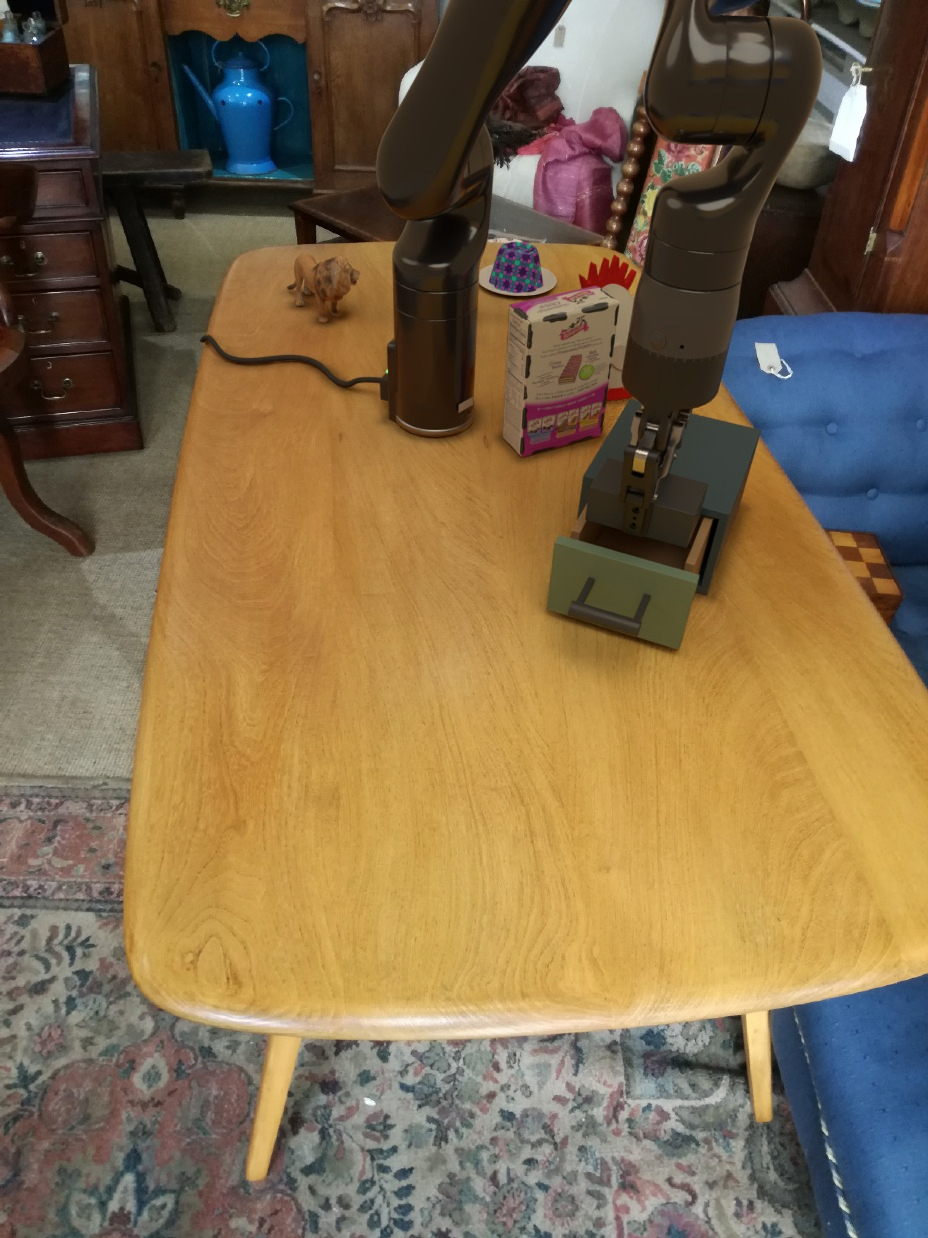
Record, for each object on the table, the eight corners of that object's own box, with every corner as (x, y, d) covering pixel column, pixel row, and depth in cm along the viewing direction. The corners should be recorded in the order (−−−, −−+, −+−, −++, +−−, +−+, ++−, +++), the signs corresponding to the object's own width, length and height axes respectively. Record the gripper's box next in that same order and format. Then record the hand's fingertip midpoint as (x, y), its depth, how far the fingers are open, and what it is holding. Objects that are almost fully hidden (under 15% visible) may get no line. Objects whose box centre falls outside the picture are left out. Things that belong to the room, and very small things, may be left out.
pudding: (568, 277, 142) (572, 242, 138) (537, 307, 134) (540, 271, 130) (496, 261, 145) (498, 226, 142) (462, 289, 137) (463, 253, 134)
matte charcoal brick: (584, 520, 81) (589, 486, 78) (601, 489, 84) (607, 457, 82) (686, 548, 78) (695, 515, 76) (700, 516, 82) (708, 483, 79)
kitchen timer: (520, 361, 122) (529, 246, 111) (605, 339, 127) (621, 227, 117) (583, 411, 113) (599, 291, 103) (671, 384, 118) (695, 268, 108)
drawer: (664, 687, 79) (682, 620, 73) (527, 643, 82) (534, 575, 77) (714, 555, 92) (732, 490, 86) (594, 522, 95) (604, 457, 90)
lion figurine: (367, 321, 129) (364, 256, 122) (337, 333, 126) (332, 267, 120) (301, 287, 136) (296, 224, 130) (271, 297, 133) (264, 233, 127)
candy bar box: (579, 416, 112) (597, 283, 101) (602, 437, 109) (623, 301, 98) (498, 437, 108) (507, 301, 97) (520, 459, 105) (531, 320, 94)
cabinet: (706, 595, 89) (729, 514, 82) (571, 556, 92) (583, 475, 86) (739, 507, 99) (761, 429, 93) (616, 475, 103) (629, 398, 96)
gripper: (708, 385, 63) (663, 575, 75) (749, 303, 73) (703, 483, 85) (603, 361, 65) (575, 550, 77) (656, 284, 75) (624, 462, 87)
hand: (642, 514), depth 81 cm, fingers closed on matte charcoal brick, 5 cm apart
